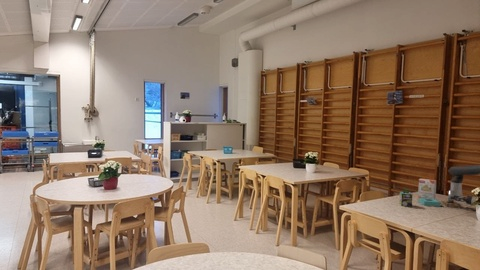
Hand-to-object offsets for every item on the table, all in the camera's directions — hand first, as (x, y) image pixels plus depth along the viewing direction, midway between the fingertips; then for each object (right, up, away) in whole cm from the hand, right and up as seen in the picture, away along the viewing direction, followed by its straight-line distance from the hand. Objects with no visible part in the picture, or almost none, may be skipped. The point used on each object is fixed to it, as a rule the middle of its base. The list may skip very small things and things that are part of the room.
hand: (452, 197), depth 296 cm
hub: (-18, -8, +5) cm, 20 cm away
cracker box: (-11, -7, +21) cm, 25 cm away
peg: (-1, -8, +1) cm, 8 cm away
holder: (-1, -8, +1) cm, 8 cm away
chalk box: (-44, -8, -1) cm, 44 cm away
